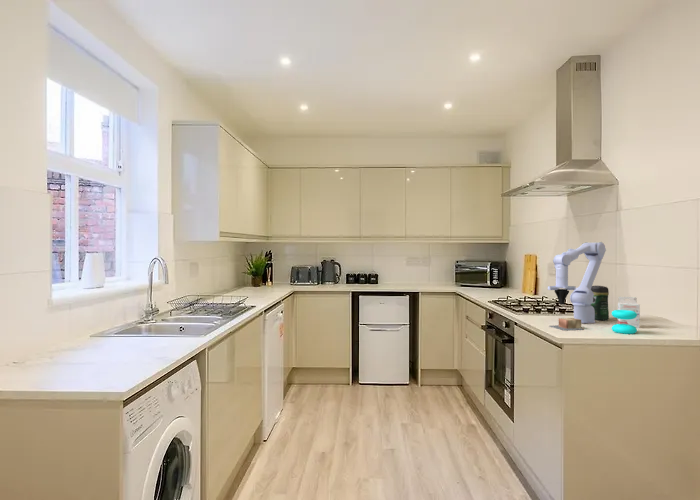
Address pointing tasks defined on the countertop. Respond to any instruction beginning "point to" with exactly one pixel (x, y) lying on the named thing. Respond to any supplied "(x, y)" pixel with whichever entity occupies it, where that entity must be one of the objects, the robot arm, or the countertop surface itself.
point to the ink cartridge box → (630, 306)
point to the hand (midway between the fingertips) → (561, 304)
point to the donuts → (624, 327)
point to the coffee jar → (600, 302)
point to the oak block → (569, 323)
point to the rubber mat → (565, 328)
